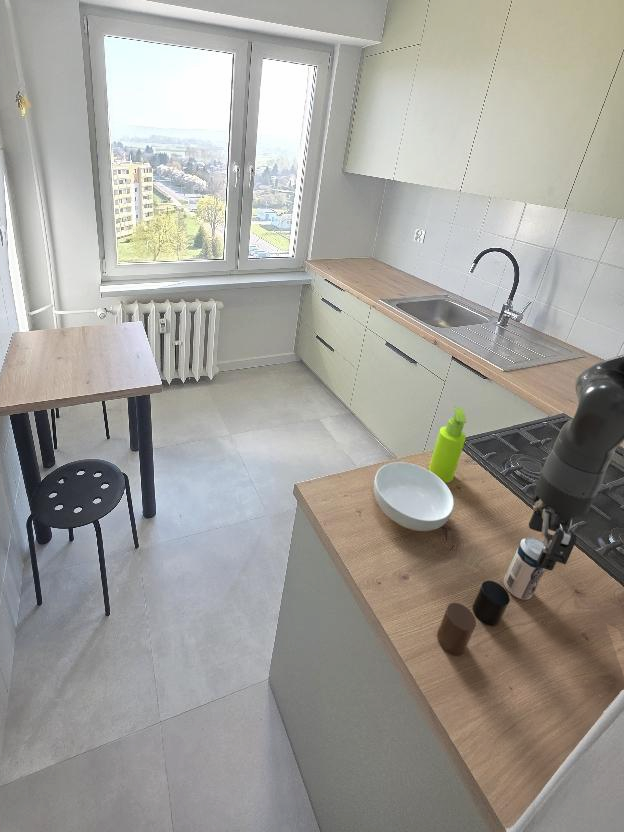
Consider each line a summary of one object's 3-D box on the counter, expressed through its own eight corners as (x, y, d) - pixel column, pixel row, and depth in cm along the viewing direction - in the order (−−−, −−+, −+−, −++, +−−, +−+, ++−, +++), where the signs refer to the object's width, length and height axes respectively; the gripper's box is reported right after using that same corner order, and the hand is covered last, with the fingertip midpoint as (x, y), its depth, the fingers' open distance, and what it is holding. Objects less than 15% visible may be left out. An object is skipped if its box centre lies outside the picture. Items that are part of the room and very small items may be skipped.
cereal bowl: (356, 491, 101) (360, 469, 99) (411, 477, 107) (417, 455, 104) (402, 552, 87) (409, 528, 84) (463, 532, 92) (472, 508, 89)
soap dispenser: (429, 481, 105) (448, 417, 97) (427, 463, 112) (445, 401, 103) (454, 488, 104) (476, 423, 96) (451, 469, 110) (471, 406, 102)
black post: (498, 607, 77) (508, 586, 75) (501, 631, 74) (511, 609, 71) (472, 597, 79) (480, 576, 76) (473, 619, 75) (482, 598, 73)
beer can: (530, 606, 78) (552, 563, 73) (501, 590, 80) (520, 547, 75) (532, 586, 81) (553, 544, 76) (504, 572, 84) (523, 530, 79)
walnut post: (464, 634, 73) (475, 609, 70) (465, 661, 69) (476, 635, 66) (437, 623, 74) (446, 598, 72) (436, 648, 71) (446, 622, 68)
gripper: (611, 519, 62) (574, 590, 68) (584, 459, 74) (554, 524, 80) (552, 501, 65) (521, 572, 71) (535, 446, 77) (510, 511, 83)
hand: (539, 547), depth 76 cm, fingers open, 8 cm apart
